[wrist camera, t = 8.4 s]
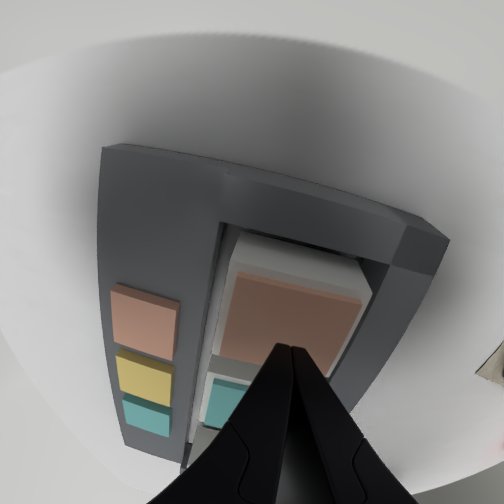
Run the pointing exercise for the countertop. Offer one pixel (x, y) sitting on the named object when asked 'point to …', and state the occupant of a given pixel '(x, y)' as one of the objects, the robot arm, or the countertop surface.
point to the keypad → (203, 268)
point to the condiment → (494, 367)
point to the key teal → (224, 388)
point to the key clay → (288, 301)
